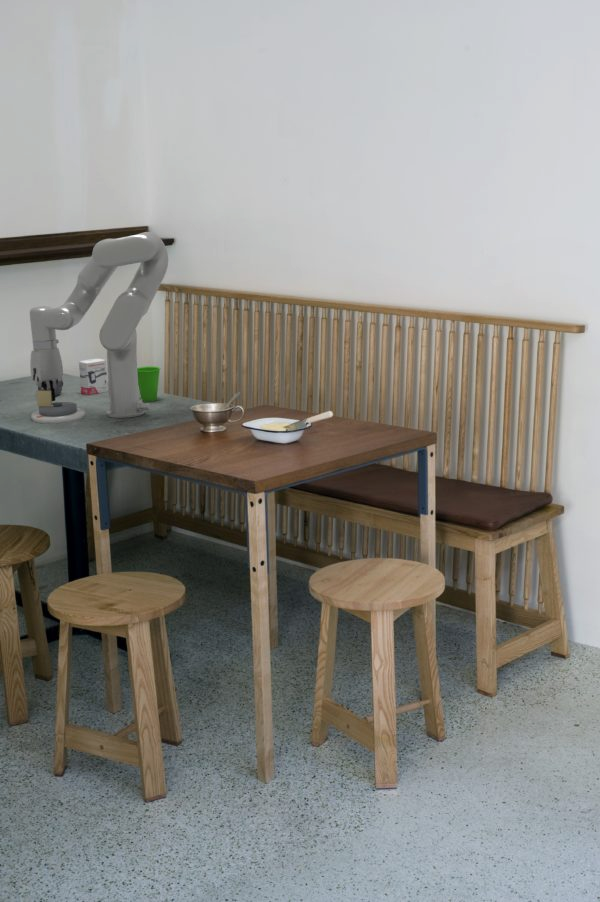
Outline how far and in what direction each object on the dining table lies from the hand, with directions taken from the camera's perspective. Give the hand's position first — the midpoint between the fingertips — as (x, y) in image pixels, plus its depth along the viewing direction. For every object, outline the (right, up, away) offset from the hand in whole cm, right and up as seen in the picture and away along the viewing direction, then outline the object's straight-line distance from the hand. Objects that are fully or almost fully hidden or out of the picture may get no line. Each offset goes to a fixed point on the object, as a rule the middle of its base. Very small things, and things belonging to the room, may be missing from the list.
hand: (50, 400), depth 359 cm
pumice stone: (-8, +3, +33) cm, 34 cm away
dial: (+3, -4, -3) cm, 5 cm away
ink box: (+8, +4, +36) cm, 37 cm away
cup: (+29, +1, +21) cm, 36 cm away
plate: (+3, -5, -2) cm, 7 cm away
